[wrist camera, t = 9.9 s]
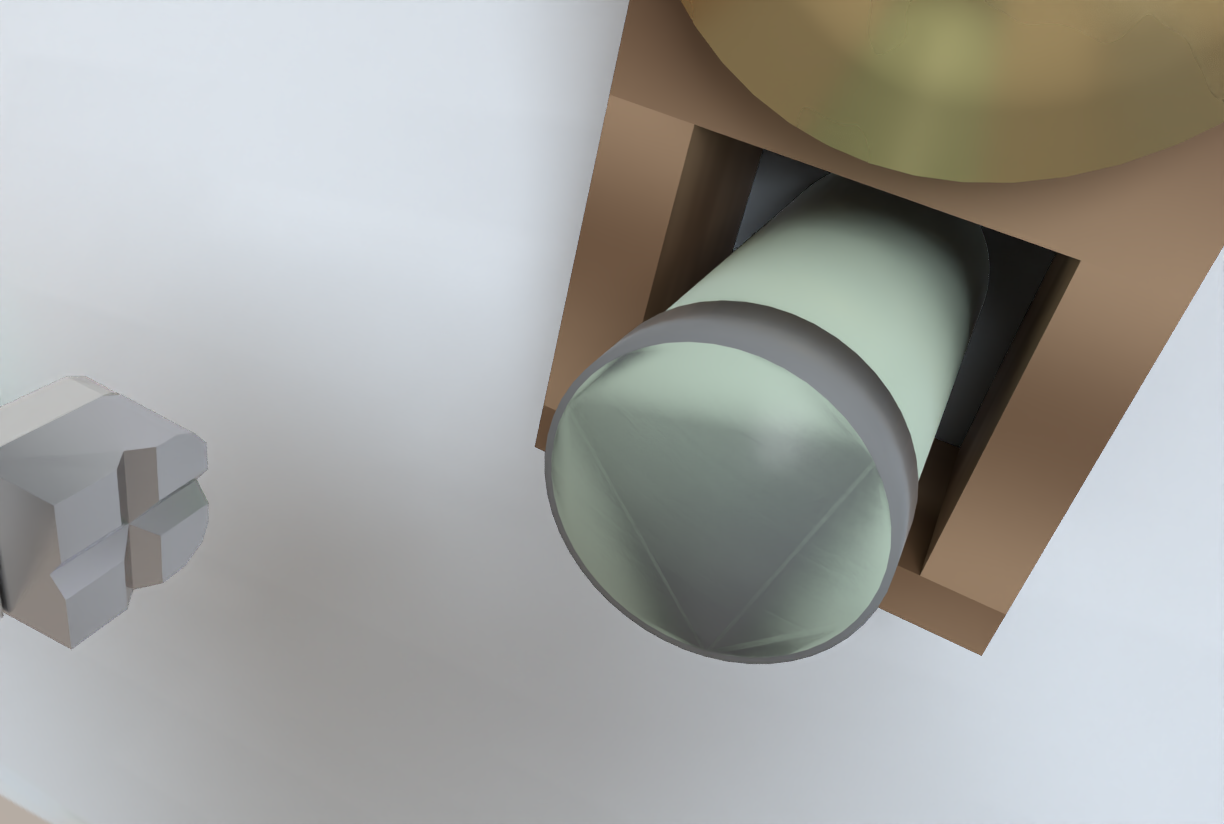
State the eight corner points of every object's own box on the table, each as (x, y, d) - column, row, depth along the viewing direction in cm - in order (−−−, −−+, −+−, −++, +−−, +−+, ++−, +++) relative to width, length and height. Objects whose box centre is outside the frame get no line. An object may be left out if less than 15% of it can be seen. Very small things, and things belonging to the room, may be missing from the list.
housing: (1009, 513, 21) (981, 655, 17) (636, 354, 24) (534, 446, 19) (1512, -401, 13) (1688, -542, 9) (862, -505, 15) (769, -655, 11)
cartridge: (940, 407, 21) (823, 721, 13) (741, 327, 22) (518, 566, 14) (1036, 204, 18) (966, 432, 10) (805, 126, 20) (582, 276, 12)
